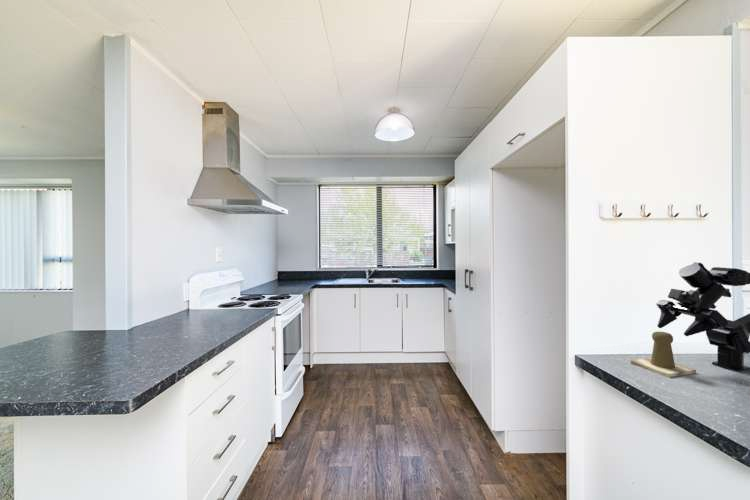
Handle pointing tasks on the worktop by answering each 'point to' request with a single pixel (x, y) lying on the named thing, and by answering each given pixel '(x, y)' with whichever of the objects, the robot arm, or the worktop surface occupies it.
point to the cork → (662, 350)
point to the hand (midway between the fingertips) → (671, 331)
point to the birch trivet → (664, 371)
